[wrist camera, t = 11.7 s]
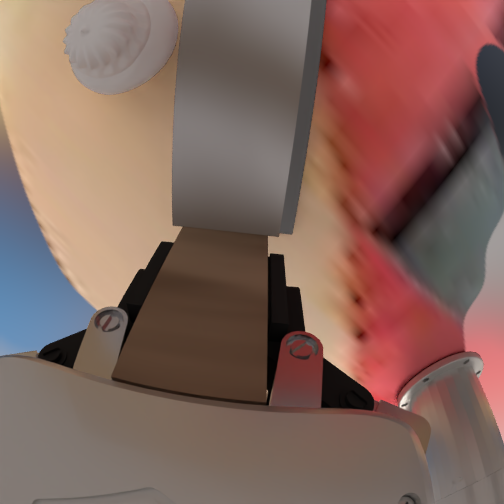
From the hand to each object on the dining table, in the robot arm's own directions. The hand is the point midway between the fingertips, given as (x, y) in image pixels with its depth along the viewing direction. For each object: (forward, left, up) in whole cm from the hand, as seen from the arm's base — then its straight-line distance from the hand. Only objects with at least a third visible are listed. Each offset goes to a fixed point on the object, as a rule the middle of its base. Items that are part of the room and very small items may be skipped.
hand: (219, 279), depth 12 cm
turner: (+6, 0, -1) cm, 6 cm away
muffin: (+10, +6, -8) cm, 14 cm away
